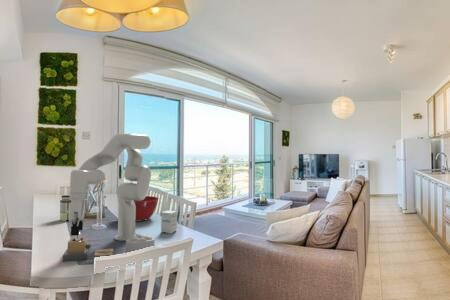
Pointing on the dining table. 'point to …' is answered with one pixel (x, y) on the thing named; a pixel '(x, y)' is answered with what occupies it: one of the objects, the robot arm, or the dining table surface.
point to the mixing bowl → (145, 207)
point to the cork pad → (103, 252)
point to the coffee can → (65, 209)
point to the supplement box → (169, 221)
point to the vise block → (77, 256)
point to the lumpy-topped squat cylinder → (139, 242)
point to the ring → (77, 245)
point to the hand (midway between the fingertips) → (76, 232)
